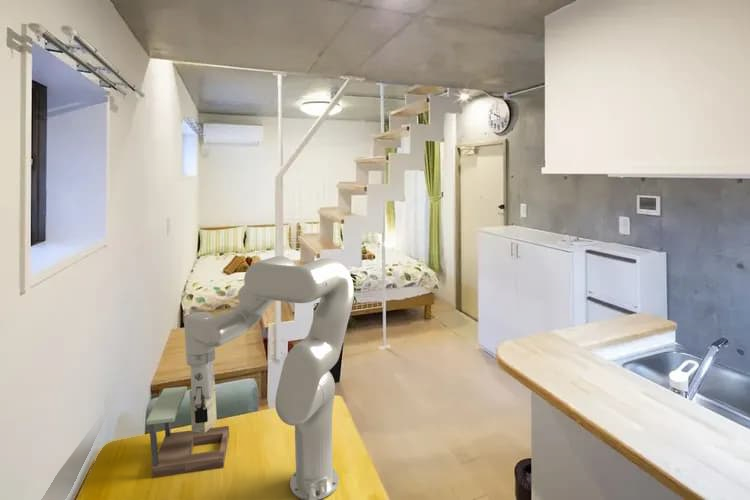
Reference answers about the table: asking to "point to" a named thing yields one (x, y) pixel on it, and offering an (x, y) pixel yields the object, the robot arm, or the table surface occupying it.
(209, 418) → the skincare box
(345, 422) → the table surface
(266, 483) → the table surface
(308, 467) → the robot arm
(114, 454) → the table surface
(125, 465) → the table surface
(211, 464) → the socket board
